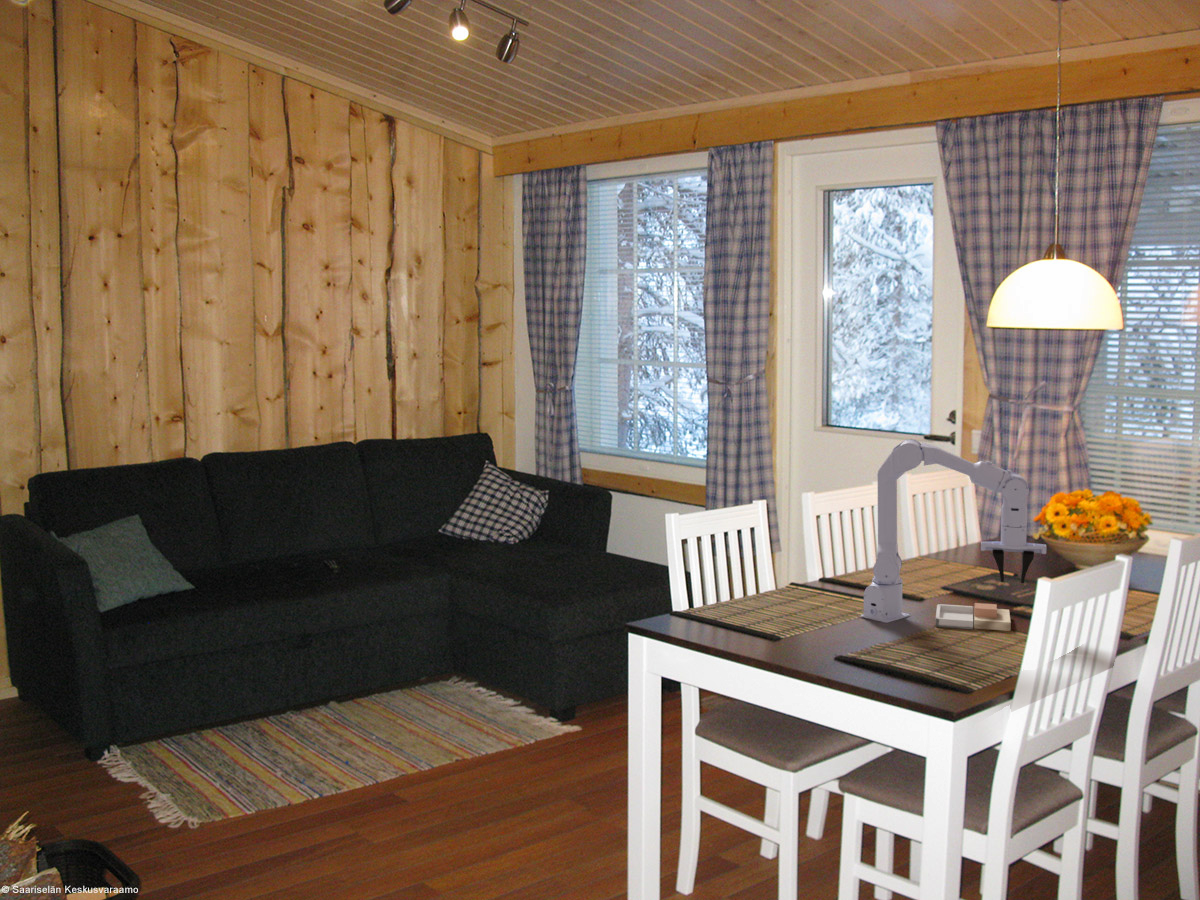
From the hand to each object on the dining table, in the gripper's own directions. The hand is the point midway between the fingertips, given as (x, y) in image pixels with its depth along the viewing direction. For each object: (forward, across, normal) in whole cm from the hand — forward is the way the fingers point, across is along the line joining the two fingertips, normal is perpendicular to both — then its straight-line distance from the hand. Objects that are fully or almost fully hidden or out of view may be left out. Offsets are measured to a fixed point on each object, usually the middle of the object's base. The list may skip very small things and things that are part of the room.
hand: (1012, 581), depth 264 cm
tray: (+10, +13, 0) cm, 16 cm away
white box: (+10, +4, 0) cm, 11 cm away
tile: (+8, +6, 0) cm, 10 cm away
